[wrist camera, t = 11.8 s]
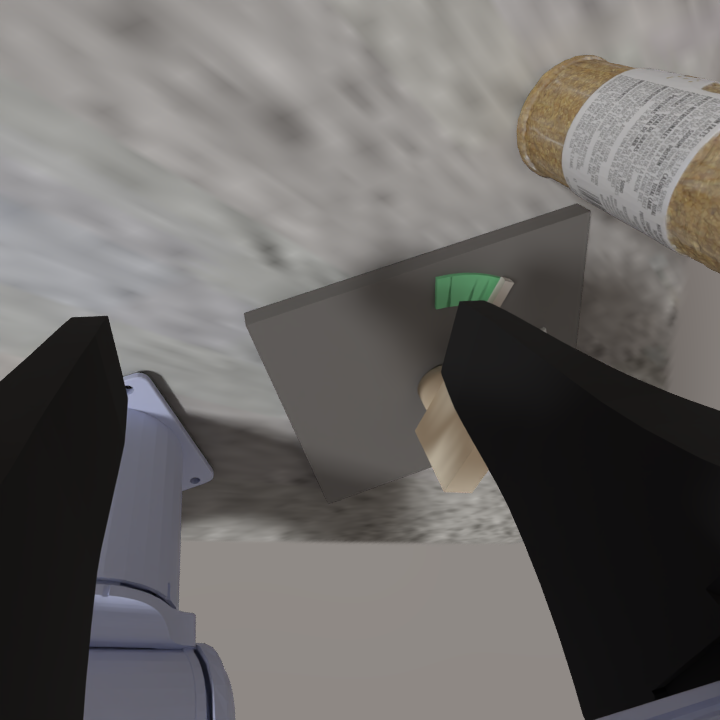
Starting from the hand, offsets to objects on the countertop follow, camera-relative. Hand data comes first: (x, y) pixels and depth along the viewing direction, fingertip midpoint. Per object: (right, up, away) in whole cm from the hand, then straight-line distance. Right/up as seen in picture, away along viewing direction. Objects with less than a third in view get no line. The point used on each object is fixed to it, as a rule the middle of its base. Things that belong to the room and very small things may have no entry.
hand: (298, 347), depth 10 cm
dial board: (+5, -1, +16) cm, 17 cm away
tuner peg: (+6, 0, +14) cm, 15 cm away
